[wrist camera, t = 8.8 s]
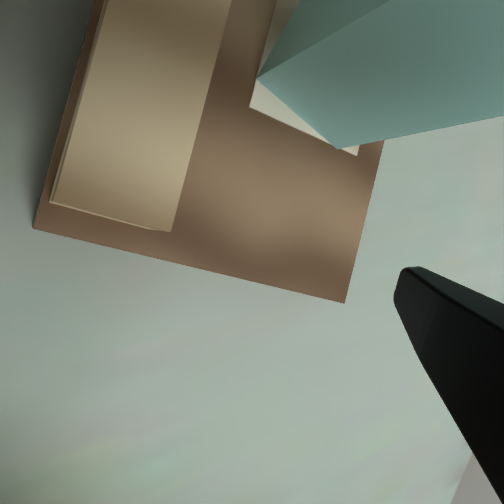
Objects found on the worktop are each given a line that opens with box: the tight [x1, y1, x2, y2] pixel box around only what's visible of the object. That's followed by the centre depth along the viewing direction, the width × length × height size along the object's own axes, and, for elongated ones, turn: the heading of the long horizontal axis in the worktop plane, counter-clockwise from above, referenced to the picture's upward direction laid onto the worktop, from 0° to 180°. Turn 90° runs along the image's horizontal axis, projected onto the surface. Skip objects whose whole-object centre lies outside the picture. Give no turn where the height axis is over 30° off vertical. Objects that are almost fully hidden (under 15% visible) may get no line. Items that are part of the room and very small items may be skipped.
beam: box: [49, 0, 232, 232], centre depth 15 cm, size 12×4×3 cm, turn 163°
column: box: [256, 0, 504, 149], centre depth 14 cm, size 5×5×13 cm
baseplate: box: [32, 0, 384, 303], centre depth 19 cm, size 14×14×3 cm
